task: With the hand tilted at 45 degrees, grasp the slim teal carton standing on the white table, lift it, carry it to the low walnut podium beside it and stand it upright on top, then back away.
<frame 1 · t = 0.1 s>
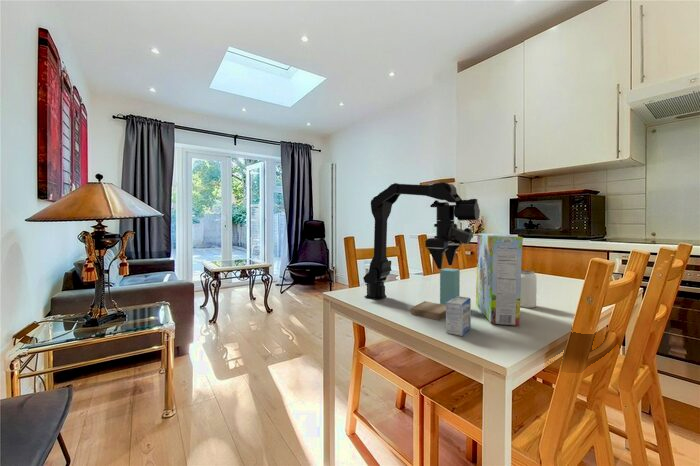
hand: (445, 267, 101), 15 cm above the table, tool pointing down, fingers open, 9 cm apart
snack box: (496, 314, 96), on the table
can: (525, 306, 105), on the table
podium: (431, 313, 98), on the table
medicine box: (458, 331, 83), on the table
carton: (449, 306, 105), on the table
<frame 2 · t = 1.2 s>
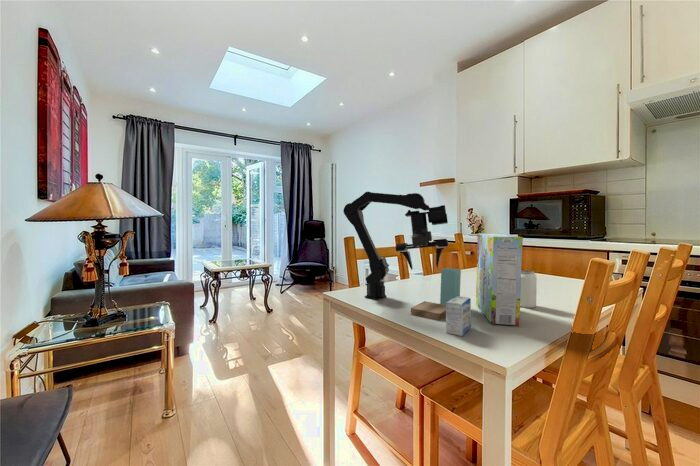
hand: (424, 268, 110), 12 cm above the table, tool pointing down, fingers open, 9 cm apart
nothing on the table moved.
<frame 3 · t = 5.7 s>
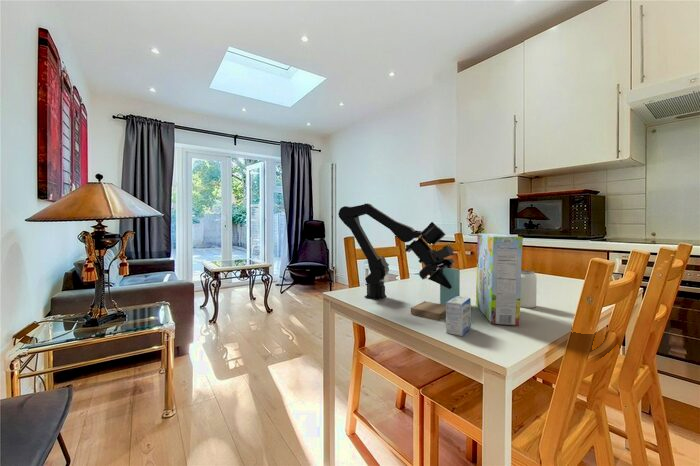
hand: (453, 286, 104), 7 cm above the table, tool tilted 45°, fingers closed on carton, 5 cm apart
carton: (449, 306, 105), on the table, touching gripper
everything else where it was.
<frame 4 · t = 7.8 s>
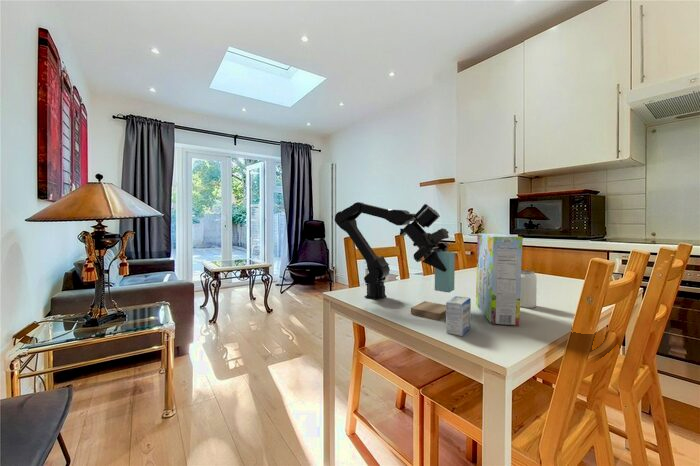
hand: (448, 270, 102), 13 cm above the table, tool tilted 45°, fingers closed on carton, 5 cm apart
carton: (444, 290, 103), point 6 cm above the table, touching gripper
everything else where it was.
when the fingers open (11 cm above the table, at t = 10.1 s): carton drops 1 cm, resting on podium.
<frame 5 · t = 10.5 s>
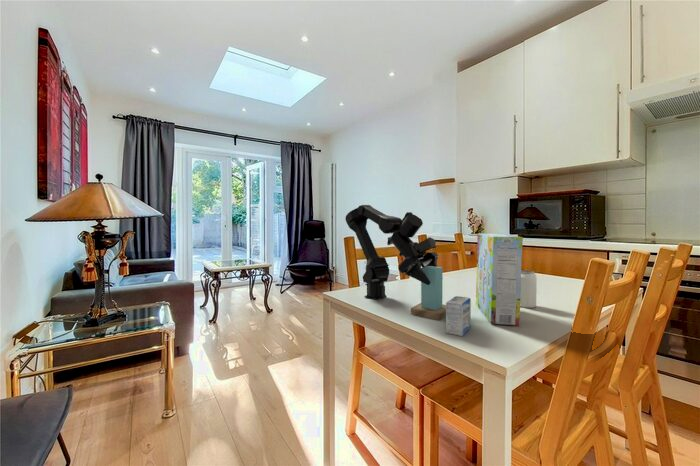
hand: (435, 281, 96), 11 cm above the table, tool tilted 45°, fingers open, 9 cm apart
carton: (431, 307, 98), point 2 cm above the table, touching podium
everything else where it was.
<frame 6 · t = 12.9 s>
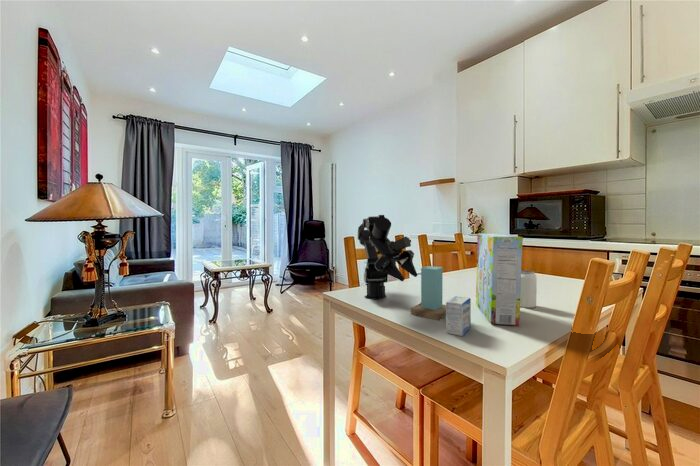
hand: (410, 278, 103), 11 cm above the table, tool tilted 45°, fingers open, 9 cm apart
nothing on the table moved.
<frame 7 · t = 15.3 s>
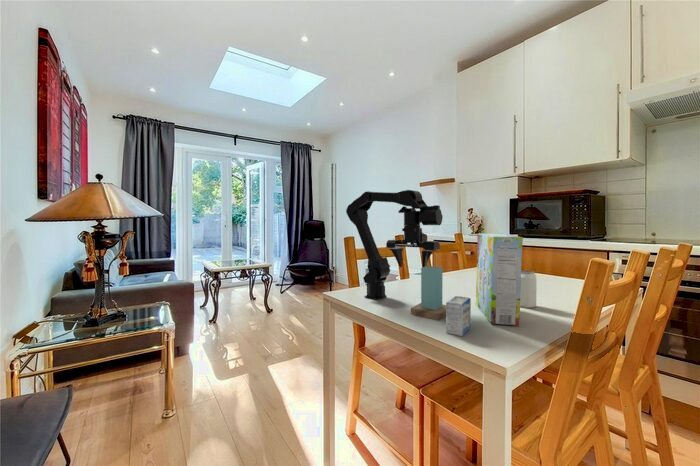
hand: (412, 268, 108), 13 cm above the table, tool pointing down, fingers open, 9 cm apart
nothing on the table moved.
at the end: carton inside the target area on the podium (0.0 cm from its centre), point 2.0 cm above the podium's base; carton tilted 0°; the gripper is holding nothing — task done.
